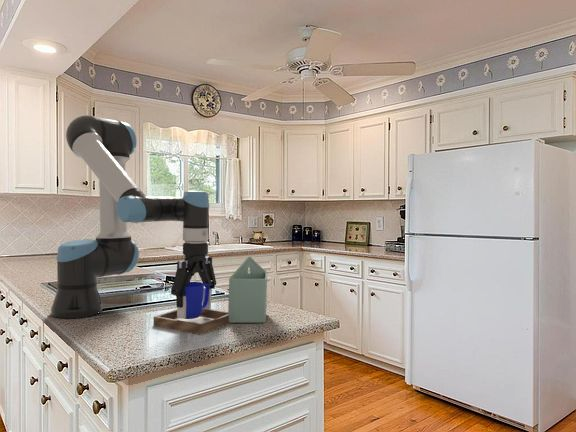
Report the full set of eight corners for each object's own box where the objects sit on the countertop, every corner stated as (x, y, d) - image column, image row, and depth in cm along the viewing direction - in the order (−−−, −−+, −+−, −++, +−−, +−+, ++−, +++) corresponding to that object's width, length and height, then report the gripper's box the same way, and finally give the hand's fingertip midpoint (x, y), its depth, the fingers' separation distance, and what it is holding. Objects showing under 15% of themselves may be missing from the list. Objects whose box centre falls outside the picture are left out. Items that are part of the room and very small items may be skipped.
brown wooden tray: (153, 325, 131) (153, 316, 131) (188, 313, 145) (188, 305, 145) (201, 334, 123) (202, 325, 123) (233, 321, 137) (234, 312, 137)
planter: (245, 328, 130) (247, 261, 129) (227, 322, 135) (229, 258, 134) (282, 317, 142) (284, 256, 141) (264, 312, 147) (266, 253, 146)
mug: (217, 313, 137) (218, 281, 136) (189, 322, 127) (190, 288, 126) (198, 309, 141) (198, 278, 141) (169, 317, 131) (170, 284, 131)
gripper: (179, 246, 121) (178, 324, 122) (228, 239, 142) (227, 306, 143) (158, 244, 124) (157, 320, 125) (209, 238, 145) (208, 303, 146)
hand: (194, 313), depth 134 cm, fingers closed on mug, 11 cm apart
